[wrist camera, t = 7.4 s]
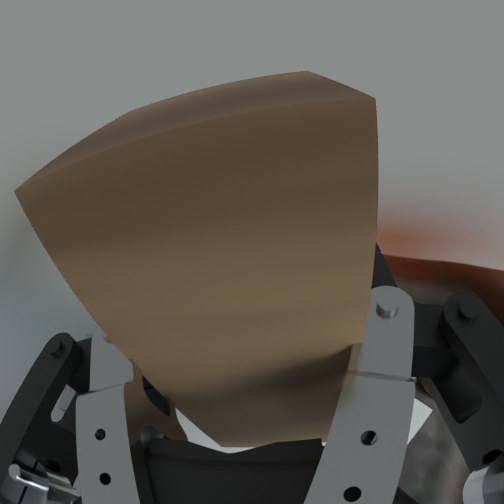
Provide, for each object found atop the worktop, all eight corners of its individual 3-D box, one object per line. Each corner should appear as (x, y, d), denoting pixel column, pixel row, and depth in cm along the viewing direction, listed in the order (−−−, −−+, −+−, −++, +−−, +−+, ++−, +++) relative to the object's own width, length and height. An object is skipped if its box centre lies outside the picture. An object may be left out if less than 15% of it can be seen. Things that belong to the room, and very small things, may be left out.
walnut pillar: (229, 354, 14) (130, 111, 7) (327, 345, 14) (306, 70, 6) (221, 447, 11) (14, 191, 3) (340, 439, 10) (375, 98, 3)
